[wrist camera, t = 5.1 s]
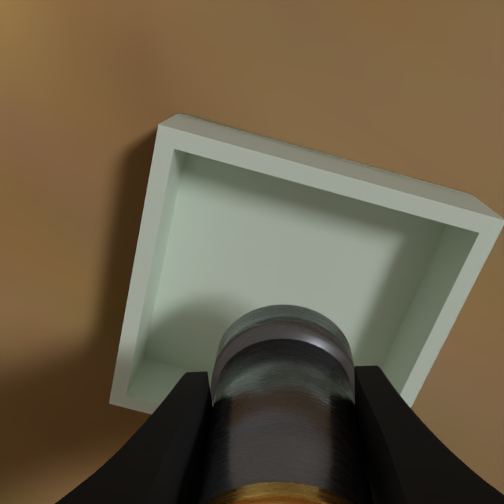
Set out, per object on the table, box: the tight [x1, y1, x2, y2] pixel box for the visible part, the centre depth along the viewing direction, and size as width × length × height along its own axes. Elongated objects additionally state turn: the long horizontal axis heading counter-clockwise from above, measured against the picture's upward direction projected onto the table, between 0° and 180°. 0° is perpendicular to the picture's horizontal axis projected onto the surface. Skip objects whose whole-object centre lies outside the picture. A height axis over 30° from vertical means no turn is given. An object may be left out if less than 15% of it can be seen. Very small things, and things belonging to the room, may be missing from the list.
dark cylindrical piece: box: [194, 305, 373, 504], centre depth 12 cm, size 4×4×7 cm
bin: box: [109, 113, 504, 415], centre depth 18 cm, size 11×11×3 cm
